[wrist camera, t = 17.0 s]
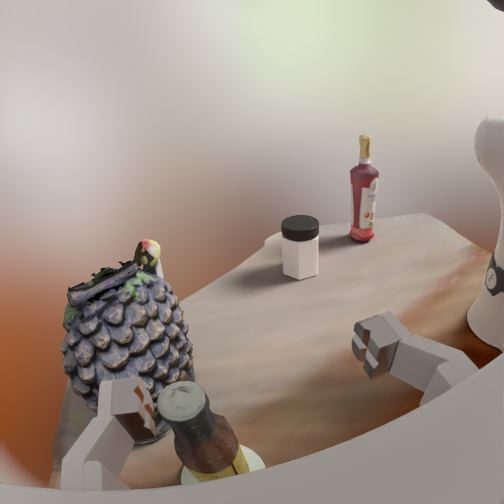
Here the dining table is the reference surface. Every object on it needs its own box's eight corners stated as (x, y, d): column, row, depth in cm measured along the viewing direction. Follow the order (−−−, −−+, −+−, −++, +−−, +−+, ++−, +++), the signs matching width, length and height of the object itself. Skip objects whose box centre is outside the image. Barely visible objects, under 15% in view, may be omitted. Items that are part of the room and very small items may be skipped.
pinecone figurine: (148, 347, 56) (104, 225, 43) (221, 364, 51) (191, 228, 39) (88, 432, 39) (0, 310, 26) (169, 469, 34) (82, 346, 22)
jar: (286, 258, 78) (283, 213, 73) (319, 260, 77) (319, 214, 71) (280, 279, 71) (278, 231, 65) (317, 281, 69) (318, 232, 63)
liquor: (364, 247, 80) (369, 139, 66) (343, 238, 85) (344, 135, 71) (379, 237, 83) (384, 136, 69) (358, 229, 88) (360, 132, 75)
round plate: (273, 450, 36) (273, 447, 36) (259, 522, 27) (259, 521, 26) (195, 439, 38) (193, 436, 38) (173, 505, 29) (170, 503, 29)
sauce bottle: (225, 448, 36) (190, 353, 26) (261, 475, 32) (243, 390, 22) (190, 479, 32) (130, 396, 22) (225, 508, 28) (178, 444, 18)
